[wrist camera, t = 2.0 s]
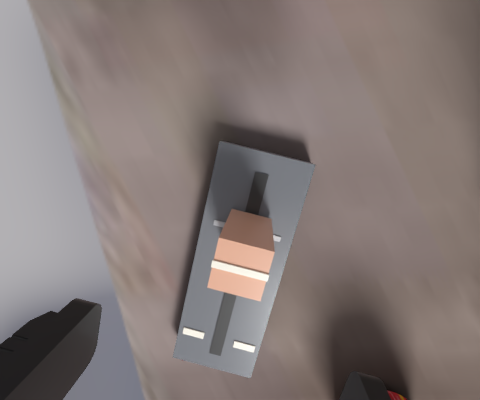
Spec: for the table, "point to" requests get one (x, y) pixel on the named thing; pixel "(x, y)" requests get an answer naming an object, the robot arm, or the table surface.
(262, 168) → the fader console
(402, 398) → the soda can
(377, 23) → the table surface
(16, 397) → the robot arm
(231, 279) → the fader knob
